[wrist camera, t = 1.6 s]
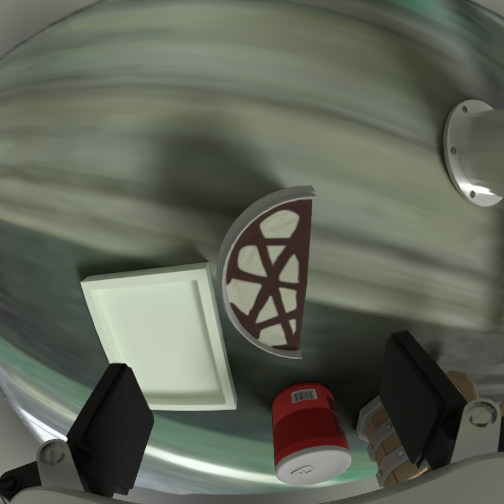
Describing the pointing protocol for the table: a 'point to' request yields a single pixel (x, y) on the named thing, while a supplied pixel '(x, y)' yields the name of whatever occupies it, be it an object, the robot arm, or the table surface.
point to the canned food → (308, 435)
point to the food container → (268, 270)
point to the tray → (165, 334)
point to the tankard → (388, 443)
